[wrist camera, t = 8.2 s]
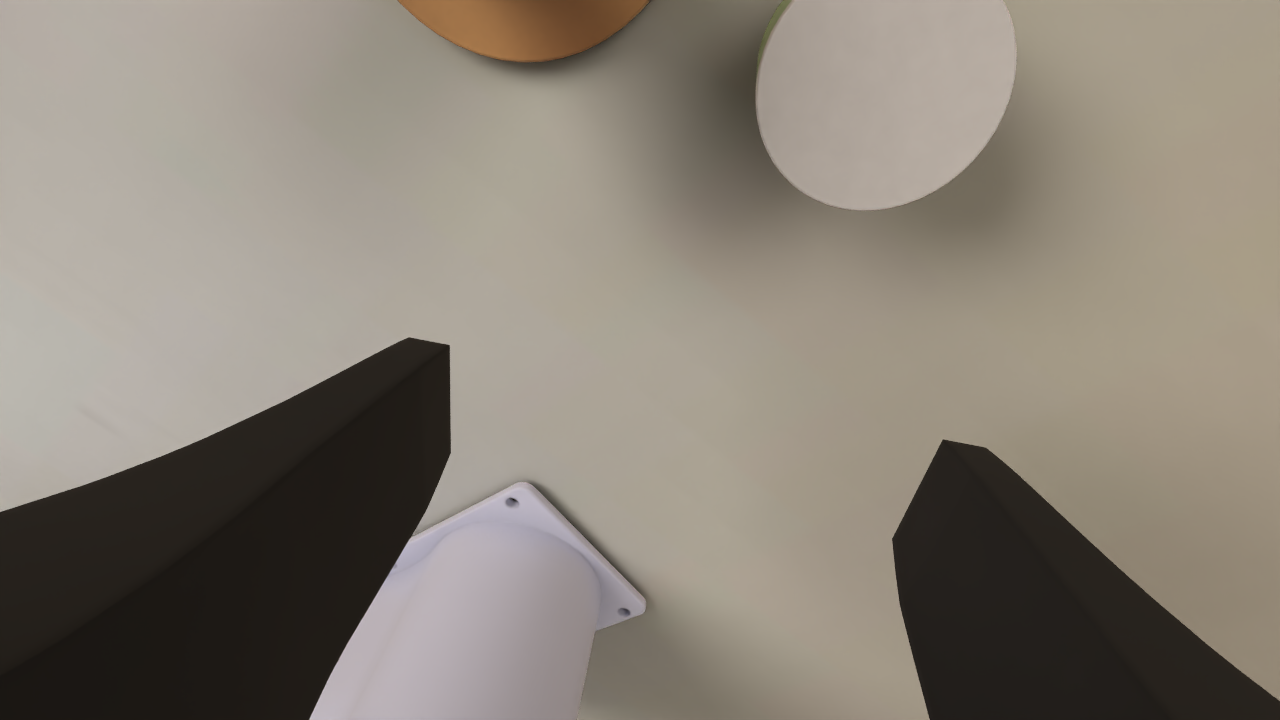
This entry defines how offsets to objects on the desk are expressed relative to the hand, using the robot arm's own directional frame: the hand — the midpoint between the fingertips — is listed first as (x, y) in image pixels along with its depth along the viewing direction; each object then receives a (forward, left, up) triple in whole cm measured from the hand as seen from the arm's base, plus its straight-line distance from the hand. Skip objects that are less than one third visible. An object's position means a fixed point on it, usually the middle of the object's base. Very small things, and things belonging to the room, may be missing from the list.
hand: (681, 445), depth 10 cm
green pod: (+5, +1, -10) cm, 12 cm away
